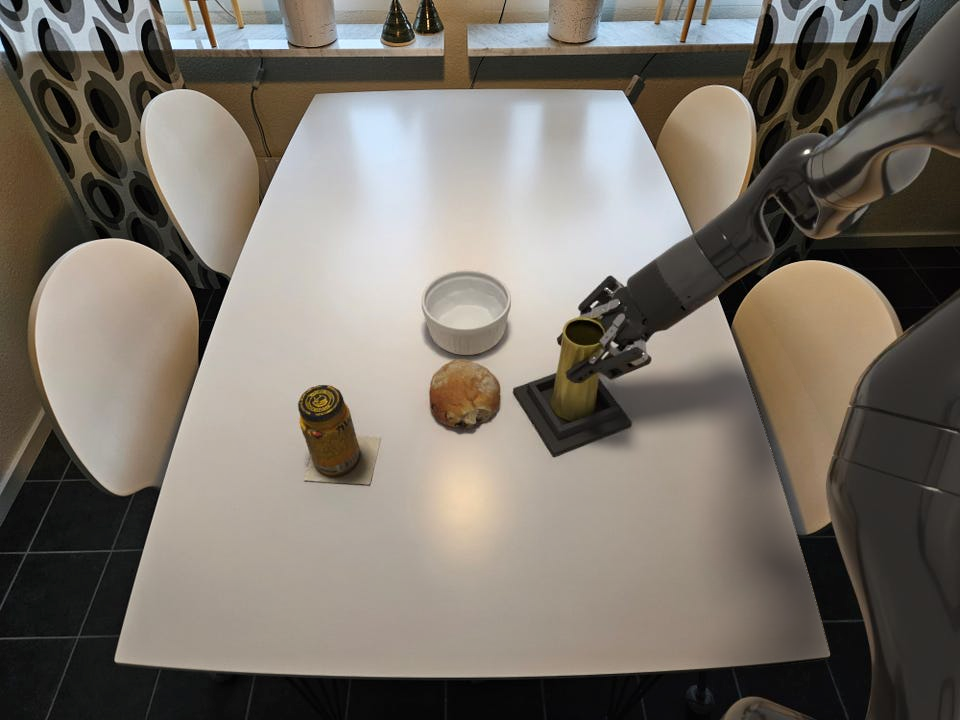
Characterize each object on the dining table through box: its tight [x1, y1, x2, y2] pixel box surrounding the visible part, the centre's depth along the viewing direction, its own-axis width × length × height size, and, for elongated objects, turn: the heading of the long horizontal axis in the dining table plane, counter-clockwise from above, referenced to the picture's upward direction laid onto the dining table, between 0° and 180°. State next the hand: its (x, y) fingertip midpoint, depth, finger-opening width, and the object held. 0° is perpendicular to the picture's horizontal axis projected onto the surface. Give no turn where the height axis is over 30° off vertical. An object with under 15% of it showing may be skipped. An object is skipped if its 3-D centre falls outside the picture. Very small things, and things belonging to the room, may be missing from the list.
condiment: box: [297, 384, 382, 485], centre depth 80 cm, size 7×8×12 cm
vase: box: [551, 316, 605, 422], centre depth 83 cm, size 6×6×14 cm
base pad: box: [512, 372, 633, 458], centre depth 88 cm, size 12×12×3 cm
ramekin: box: [421, 269, 512, 356], centre depth 97 cm, size 13×13×7 cm
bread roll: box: [428, 359, 502, 431], centre depth 89 cm, size 10×10×8 cm
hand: (565, 361), depth 82 cm, fingers closed on vase, 5 cm apart
